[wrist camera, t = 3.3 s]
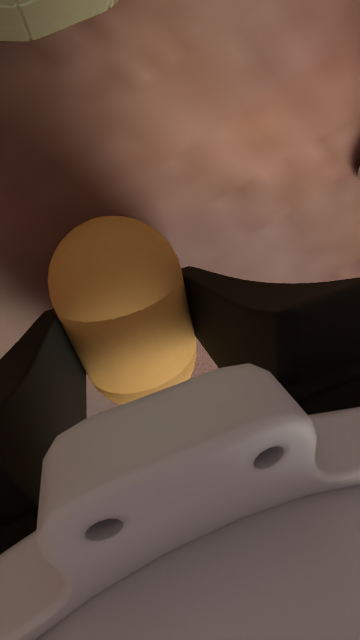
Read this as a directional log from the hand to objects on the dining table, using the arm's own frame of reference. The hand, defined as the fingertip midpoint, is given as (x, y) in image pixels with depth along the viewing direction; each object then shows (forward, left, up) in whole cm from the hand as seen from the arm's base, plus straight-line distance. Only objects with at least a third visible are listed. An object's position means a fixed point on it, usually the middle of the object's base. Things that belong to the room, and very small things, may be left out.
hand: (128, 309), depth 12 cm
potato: (0, 0, -1) cm, 1 cm away
